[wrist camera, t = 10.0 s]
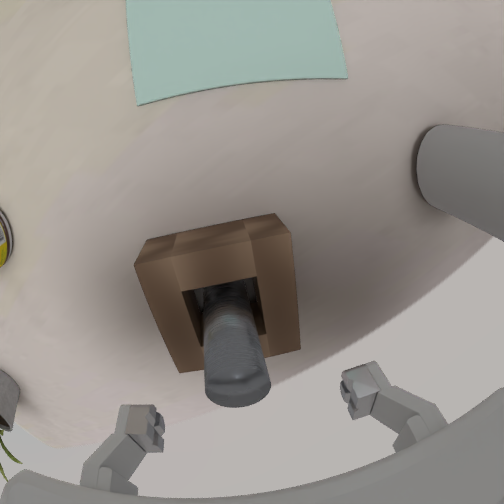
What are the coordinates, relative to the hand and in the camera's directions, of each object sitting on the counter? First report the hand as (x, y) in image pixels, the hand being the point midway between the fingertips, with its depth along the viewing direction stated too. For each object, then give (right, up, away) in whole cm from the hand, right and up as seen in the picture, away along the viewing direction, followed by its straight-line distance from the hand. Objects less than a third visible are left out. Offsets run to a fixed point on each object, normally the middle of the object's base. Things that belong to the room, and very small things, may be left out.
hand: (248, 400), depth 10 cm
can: (+17, +14, +9) cm, 23 cm away
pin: (-2, +4, +10) cm, 11 cm away
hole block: (-2, +4, +10) cm, 11 cm away
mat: (-1, +21, +3) cm, 22 cm away
